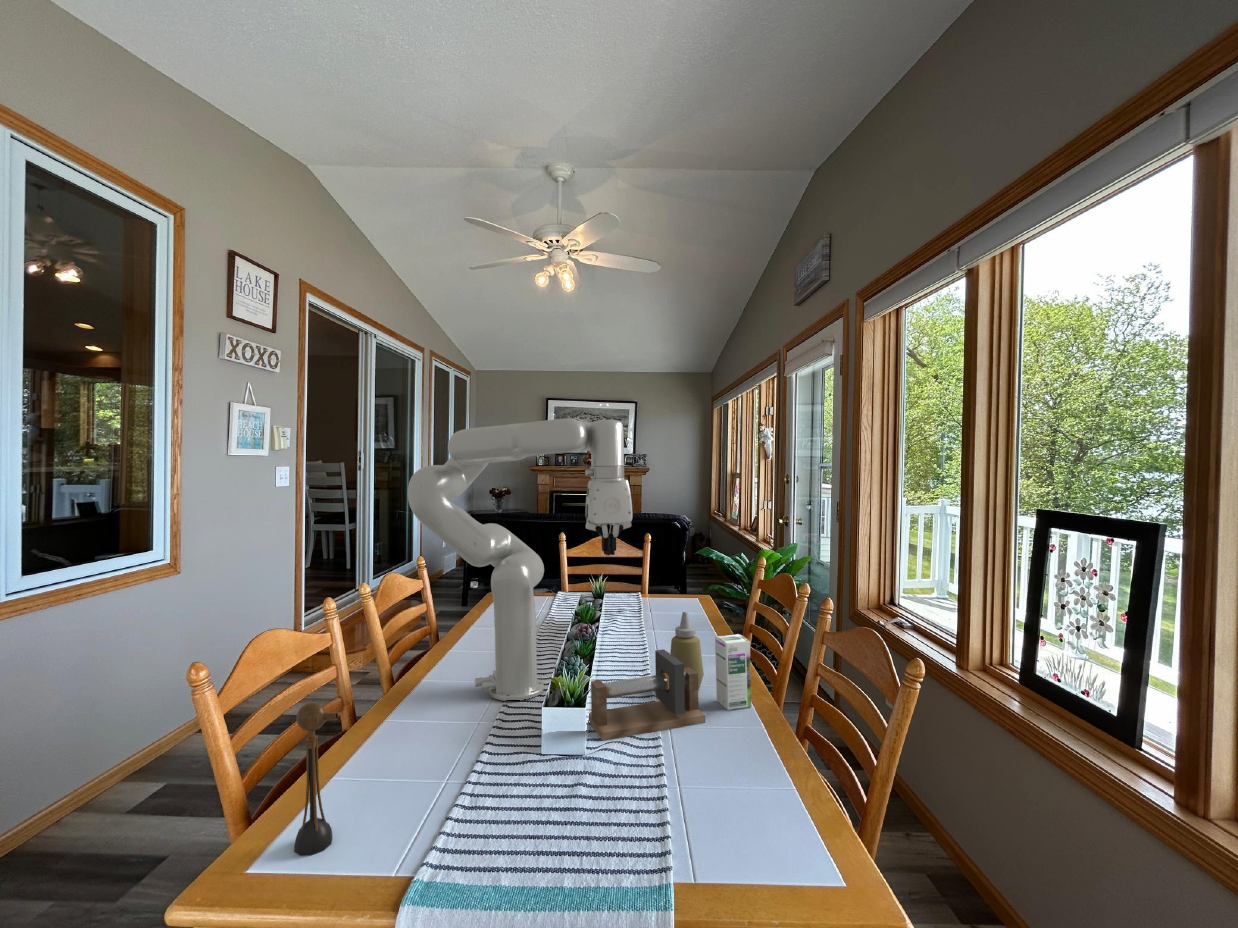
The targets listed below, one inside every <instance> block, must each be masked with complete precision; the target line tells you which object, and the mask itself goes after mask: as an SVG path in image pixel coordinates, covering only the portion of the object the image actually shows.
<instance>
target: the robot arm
mask: <svg viewBox="0 0 1238 928" xmlns="http://www.w3.org/2000/svg"><path fill="white" fill-rule="evenodd" d="M624 434H625V433H624V424H623V423H622V421H620V420H618V419H599V420H594V421H593V422H589V421H581V420H578V419H574V418H569V417H568V418H555V419H547V420H538V421H537V420H535V421H530V422H521V423H520V422H519V423H511V424H510V423H509V424H502V425H492V426H491V425H490V426H482V427H481V426H480V427H473V428H464V429H461V430H457V431H455V433H453V434H452V435H451V436H450V438H449V440H448V444H447V449H448V453H449V455H450V457H449V459H448V460H446V462H445V463H444V464H433V465H427V466H424V467H421V468H419V469H418V470H416V471H415V472H414V473H413V475H411V477H410V480H409V482H408V486H407V500H408V504H409V507H410V509H411V511H412V514H413V515H414V516H415V518H416V519H417V520H418V522H420V523H421V524H422V525H423V526H424V527H426V528H427V529H428V530H429V531H431V533H433V534H434V535H435V536H437V537H438V538H439V539H440V540H441V541H442V542H444V544H446V545H447V546H448V547H449V548H450V549H451V550H453V551H454V553H456V554H457V555H458V556H459V557H461V558H462V559H463V560H464V561H466V562H467V563H468V564H469V565H471V566H473V567H477V568H482V567H486V566H489V565H491V566H492V567H494V569H493V571H492V573H491V576H490V577H491V578H490V587H491V594H492V602H493V614H494V615H493V616H494V622H493V623H494V648H495V649H494V653H495V661H494V662H495V669H494V670H492V674H489V675H488V676H485V677H483V676H482V677H475V678H474V685H475V687H474V688H478V687H481V690H482V689H483V690H484V689H488V694H489V696H490V697H491V698H493V699H494V700H498V701H503V702H507V701H506V700H520V701H525V700H524V699H526V700H530V699H533V698H535V697H538V696H539V695H541V694H542V693H543V692H544V689H545V685H544V683H543V681H541V679H538V662H537V661H538V660H537V658H538V657H537V655H538V654H537V650H538V649H537V619H536V618H537V614H536V611H537V610H536V603H535V597H534V588H535V587H536V586H537V585H538V584H539V583H540V582H541V581H542V579H543V577H544V573H545V567H544V566H545V565H544V563H543V560H542V558H541V557H540V555H539V554H538V553H536V551H534V550H533V549H532V548H531V547H529V546H528V545H527V544H526V543H525V542H523V541H522V540H521V539H520V538H518V536H516V535H515V534H514V533H512V532H511V531H510V530H508V529H507V528H505V527H504V526H502V525H500V524H498V523H494V522H493V523H492V522H491V523H484V524H483V523H481V522H479V521H477V520H476V519H475V518H474V517H472V516H471V515H470V514H469V513H468V512H467V511H466V510H464V509H462V507H460V506H458V505H457V504H455V503H453V502H452V501H450V500H452V499H455V498H457V497H459V496H460V495H462V494H463V493H464V492H466V490H467V489H468V488H469V487H470V486H471V484H472V483H473V482H474V481H475V480H476V479H477V478H478V477H479V475H480V474H481V473H482V472H483V470H485V468H486V467H487V466H488V465H489V464H491V463H502V462H503V463H504V462H513V461H514V462H515V461H520V460H524V459H526V458H529V457H535V456H543V455H551V454H552V455H553V454H562V453H563V454H564V453H565V454H566V453H571V454H573V453H575V454H577V453H579V454H580V453H585V452H590V454H591V455H590V457H591V460H590V461H591V464H590V465H591V466H590V467H589V469H585V471H584V472H585V473H584V474H585V476H588V477H590V479H591V480H588V483H587V490H586V497H585V520H586V523H585V529H587V530H589V531H594V532H596V533H597V534H598V535H599V536H600V537H601V551H602V552H603V554H604V555H605V556H615V554H616V551H617V538H618V536H619V534H620V533H621V532H622V531H623V530H626V529H629V528H631V527H632V522H633V521H632V520H633V504H632V503H633V502H632V495H631V488H630V483H629V480H628V479H625V453H624V452H625V447H624V446H625V442H624V440H625V439H624ZM608 525H609V530H608ZM608 531H609V532H608ZM532 697H533V698H532ZM529 698H530V699H529Z"/></svg>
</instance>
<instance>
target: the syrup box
mask: <svg viewBox="0 0 1238 928" xmlns="http://www.w3.org/2000/svg"><path fill="white" fill-rule="evenodd" d="M714 648H715V649H714V650H715V683H716V686H715V687H716V701H717V702H718V703H719V704H720V705H721V706H722V707H723V708H725V710H727V711H731V710H736V709H745V708H751V707H752V681H751V679H752V677H751V674H752V673H751V672H752V671H751V642H750V640H749V639H748V638H746V636H744V635H742V634H739V633H737V634H729V635H718V636H715V637H714Z"/></svg>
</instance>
